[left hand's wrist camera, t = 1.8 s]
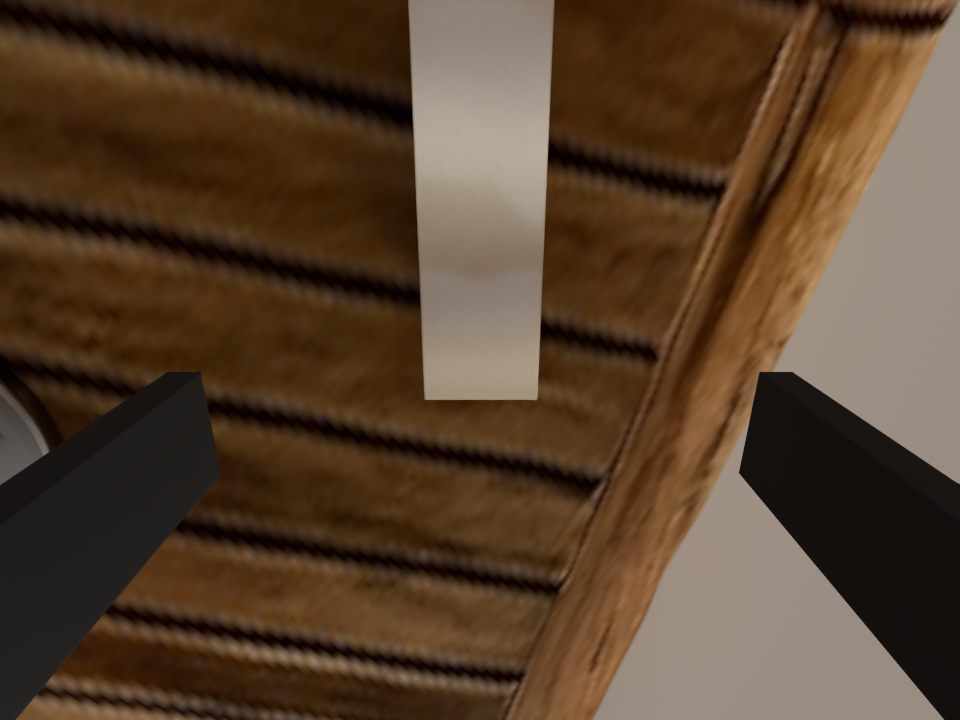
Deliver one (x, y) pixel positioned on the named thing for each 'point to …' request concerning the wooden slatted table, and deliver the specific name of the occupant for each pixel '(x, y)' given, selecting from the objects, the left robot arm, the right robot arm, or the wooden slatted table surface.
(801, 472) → the left robot arm
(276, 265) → the wooden slatted table surface
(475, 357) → the ash beam
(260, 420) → the wooden slatted table surface
